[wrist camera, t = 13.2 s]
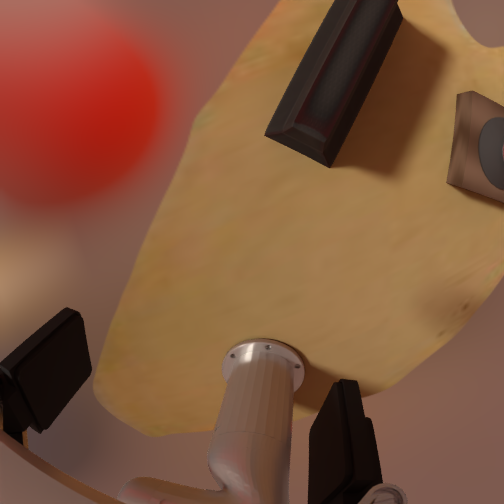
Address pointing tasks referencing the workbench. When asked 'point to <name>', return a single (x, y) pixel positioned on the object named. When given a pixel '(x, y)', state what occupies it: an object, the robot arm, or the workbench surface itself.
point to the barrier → (335, 77)
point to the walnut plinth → (478, 146)
